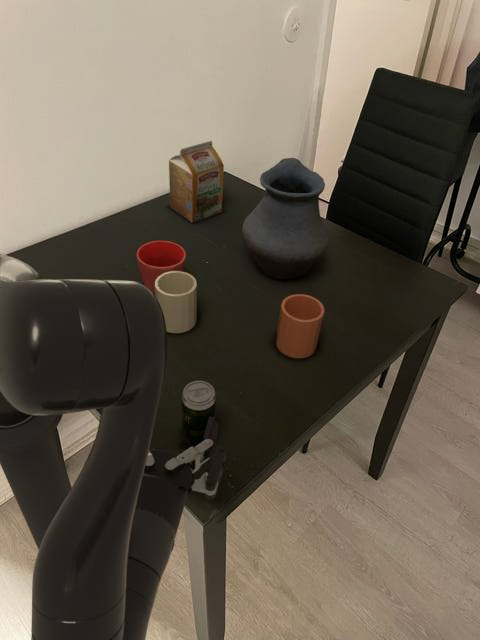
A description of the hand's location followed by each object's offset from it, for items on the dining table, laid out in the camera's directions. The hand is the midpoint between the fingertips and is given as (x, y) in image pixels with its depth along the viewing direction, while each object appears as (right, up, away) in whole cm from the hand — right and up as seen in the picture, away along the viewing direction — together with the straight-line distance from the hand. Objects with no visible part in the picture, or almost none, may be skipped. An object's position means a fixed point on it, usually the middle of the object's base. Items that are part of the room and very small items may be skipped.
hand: (180, 415), depth 67 cm
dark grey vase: (+18, +26, +60) cm, 68 cm away
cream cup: (-6, +13, +42) cm, 44 cm away
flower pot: (-10, +20, +50) cm, 55 cm away
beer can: (+1, -8, +20) cm, 21 cm away
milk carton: (-5, +44, +79) cm, 90 cm away
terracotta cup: (+20, +8, +39) cm, 44 cm away
